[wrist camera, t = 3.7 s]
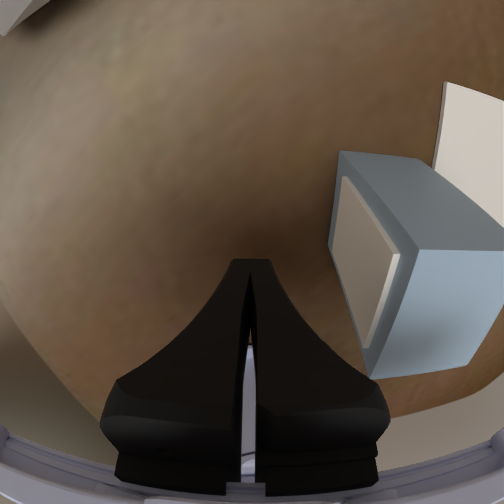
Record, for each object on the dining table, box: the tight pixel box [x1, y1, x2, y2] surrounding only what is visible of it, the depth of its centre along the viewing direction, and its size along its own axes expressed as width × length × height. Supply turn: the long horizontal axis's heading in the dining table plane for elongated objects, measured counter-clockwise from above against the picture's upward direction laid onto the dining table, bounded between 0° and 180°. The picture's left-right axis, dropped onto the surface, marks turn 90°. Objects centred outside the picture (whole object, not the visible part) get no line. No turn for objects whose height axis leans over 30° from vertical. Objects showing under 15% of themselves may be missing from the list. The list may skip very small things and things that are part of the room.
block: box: [328, 151, 504, 380], centre depth 14 cm, size 6×5×10 cm
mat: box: [432, 81, 504, 228], centre depth 18 cm, size 16×13×1 cm
